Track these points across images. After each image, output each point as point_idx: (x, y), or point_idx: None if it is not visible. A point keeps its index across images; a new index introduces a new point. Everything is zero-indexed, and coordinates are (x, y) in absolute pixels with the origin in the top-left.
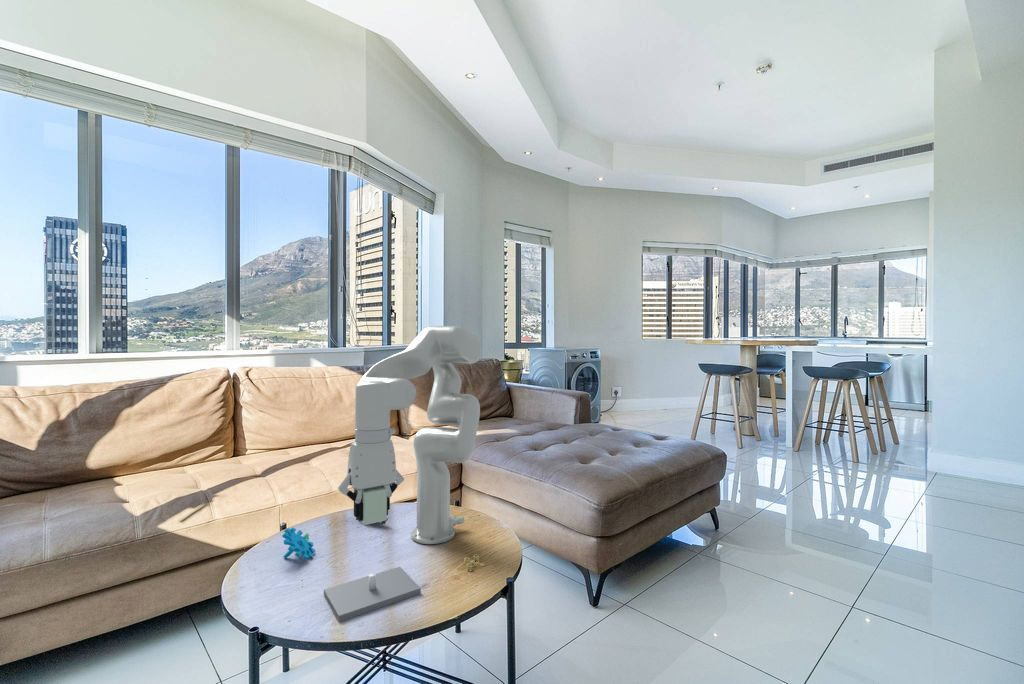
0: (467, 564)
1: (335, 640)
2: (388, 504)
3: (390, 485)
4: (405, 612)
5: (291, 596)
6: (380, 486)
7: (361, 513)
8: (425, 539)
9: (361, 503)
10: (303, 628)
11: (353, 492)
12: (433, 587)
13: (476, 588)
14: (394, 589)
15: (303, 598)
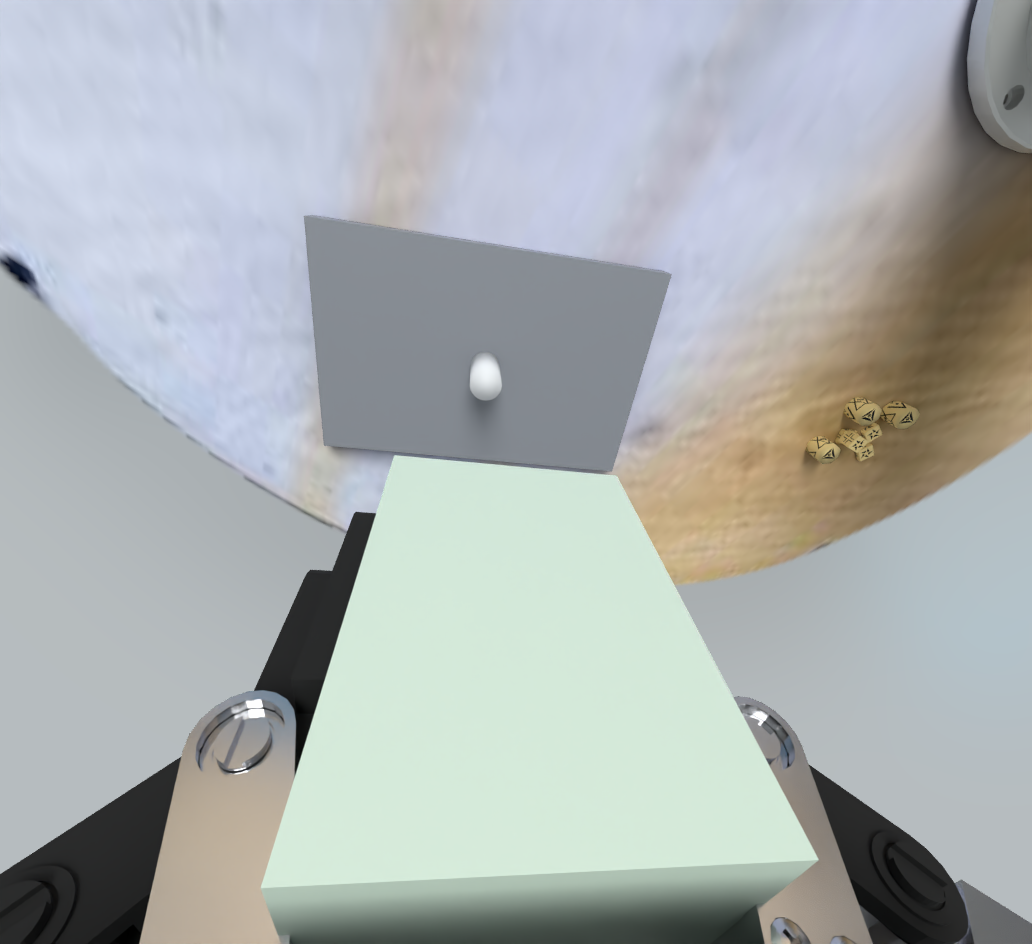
0: (827, 450)
1: (302, 505)
2: None
3: (857, 889)
4: None
5: (155, 96)
6: (682, 941)
7: None
8: (1002, 59)
9: None
10: (213, 396)
11: (163, 865)
12: (658, 458)
13: (729, 535)
14: (544, 424)
15: (218, 172)
